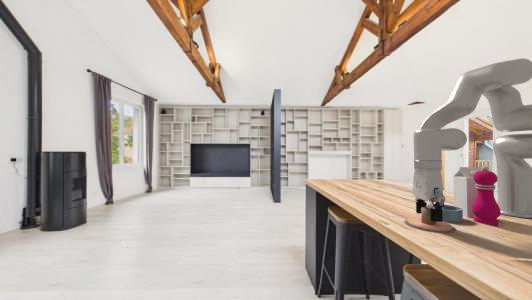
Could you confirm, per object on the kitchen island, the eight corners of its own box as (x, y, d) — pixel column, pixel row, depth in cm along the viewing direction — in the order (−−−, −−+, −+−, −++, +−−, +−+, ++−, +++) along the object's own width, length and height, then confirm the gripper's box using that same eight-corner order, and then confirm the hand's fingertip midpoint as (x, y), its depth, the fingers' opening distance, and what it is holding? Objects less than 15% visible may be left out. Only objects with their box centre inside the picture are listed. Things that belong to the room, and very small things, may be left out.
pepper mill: (507, 227, 71) (506, 166, 72) (481, 226, 73) (480, 166, 73) (489, 220, 79) (488, 165, 79) (466, 219, 80) (465, 165, 80)
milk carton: (453, 213, 88) (452, 166, 89) (473, 213, 87) (472, 166, 88) (467, 218, 81) (466, 167, 82) (489, 219, 80) (487, 167, 81)
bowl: (451, 216, 85) (451, 204, 85) (470, 224, 75) (469, 211, 75) (422, 214, 87) (422, 203, 87) (437, 222, 77) (436, 210, 77)
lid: (438, 220, 78) (438, 205, 78) (461, 232, 66) (461, 214, 66) (401, 219, 80) (401, 203, 80) (417, 230, 68) (417, 212, 68)
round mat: (440, 221, 78) (440, 220, 79) (467, 236, 65) (467, 234, 65) (397, 219, 81) (397, 218, 81) (415, 233, 68) (415, 231, 68)
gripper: (404, 164, 83) (405, 209, 82) (428, 167, 66) (429, 224, 65) (426, 164, 81) (427, 210, 81) (457, 167, 64) (458, 226, 64)
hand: (428, 216), depth 73 cm, fingers open, 8 cm apart
